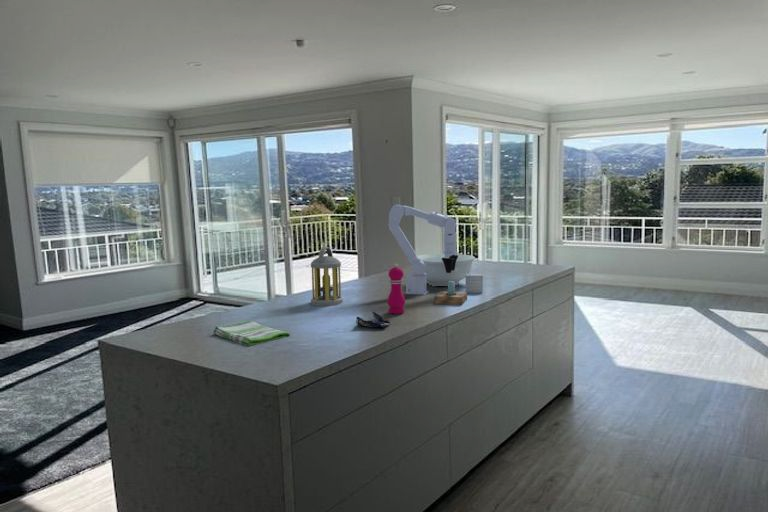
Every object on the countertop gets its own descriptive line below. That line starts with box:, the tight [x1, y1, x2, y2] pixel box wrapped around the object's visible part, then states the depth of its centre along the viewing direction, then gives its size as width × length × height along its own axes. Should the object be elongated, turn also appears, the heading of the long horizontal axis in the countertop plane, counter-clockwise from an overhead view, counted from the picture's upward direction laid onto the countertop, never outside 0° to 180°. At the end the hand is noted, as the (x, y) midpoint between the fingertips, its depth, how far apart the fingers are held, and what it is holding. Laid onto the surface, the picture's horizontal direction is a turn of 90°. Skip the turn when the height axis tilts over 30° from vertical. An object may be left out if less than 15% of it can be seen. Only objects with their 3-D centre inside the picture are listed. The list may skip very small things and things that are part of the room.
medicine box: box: [465, 273, 484, 294], centre depth 263 cm, size 8×4×9 cm, turn 84°
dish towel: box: [212, 320, 291, 347], centre depth 193 cm, size 17×23×4 cm
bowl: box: [417, 253, 476, 287], centre depth 286 cm, size 32×32×15 cm
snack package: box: [355, 311, 391, 329], centre depth 202 cm, size 12×6×12 cm
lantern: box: [310, 246, 344, 307], centre depth 245 cm, size 14×14×25 cm
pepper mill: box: [386, 263, 406, 315], centre depth 223 cm, size 7×7×20 cm
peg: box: [447, 281, 456, 295], centre depth 243 cm, size 3×3×9 cm
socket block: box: [434, 290, 468, 306], centre depth 243 cm, size 12×12×4 cm
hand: (450, 271), depth 262 cm, fingers open, 7 cm apart
